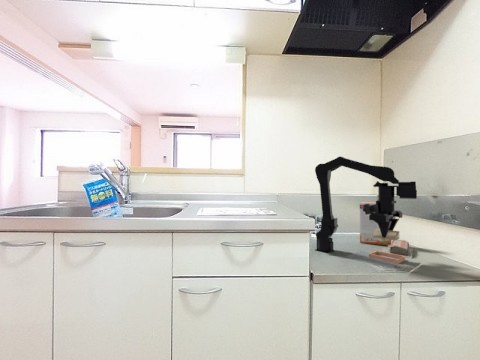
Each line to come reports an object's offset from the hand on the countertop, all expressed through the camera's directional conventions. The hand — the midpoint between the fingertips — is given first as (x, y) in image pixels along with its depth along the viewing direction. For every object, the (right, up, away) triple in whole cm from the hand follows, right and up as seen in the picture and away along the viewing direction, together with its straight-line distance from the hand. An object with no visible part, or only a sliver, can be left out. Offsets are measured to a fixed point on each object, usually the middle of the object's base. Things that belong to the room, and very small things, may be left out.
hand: (386, 236), depth 107 cm
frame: (0, -9, 0) cm, 9 cm away
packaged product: (+12, -10, +11) cm, 19 cm away
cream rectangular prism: (0, -1, 0) cm, 1 cm away
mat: (-5, -9, 0) cm, 11 cm away
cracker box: (+10, -10, +28) cm, 31 cm away
